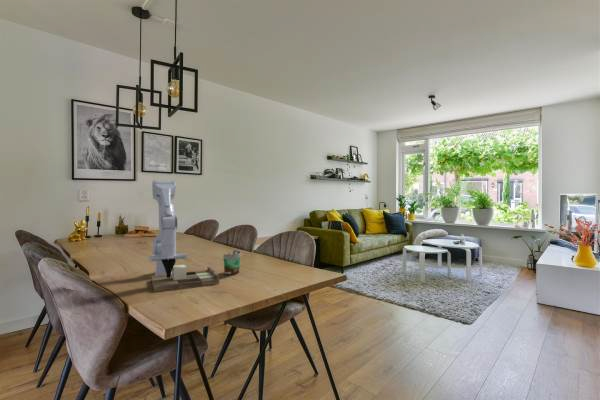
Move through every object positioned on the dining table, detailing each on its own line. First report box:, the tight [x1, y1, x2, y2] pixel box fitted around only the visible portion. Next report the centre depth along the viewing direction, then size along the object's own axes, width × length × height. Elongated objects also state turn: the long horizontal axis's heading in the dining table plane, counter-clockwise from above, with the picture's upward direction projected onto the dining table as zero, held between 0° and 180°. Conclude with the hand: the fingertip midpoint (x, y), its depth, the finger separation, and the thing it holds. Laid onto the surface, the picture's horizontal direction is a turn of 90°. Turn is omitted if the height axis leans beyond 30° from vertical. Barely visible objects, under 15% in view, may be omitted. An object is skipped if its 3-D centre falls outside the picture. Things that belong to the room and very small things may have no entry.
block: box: [172, 264, 187, 280], centre depth 134 cm, size 5×5×5 cm
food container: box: [222, 249, 243, 276], centre depth 150 cm, size 12×6×10 cm, turn 168°
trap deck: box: [150, 266, 220, 293], centre depth 135 cm, size 18×25×4 cm
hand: (168, 277), depth 132 cm, fingers closed
